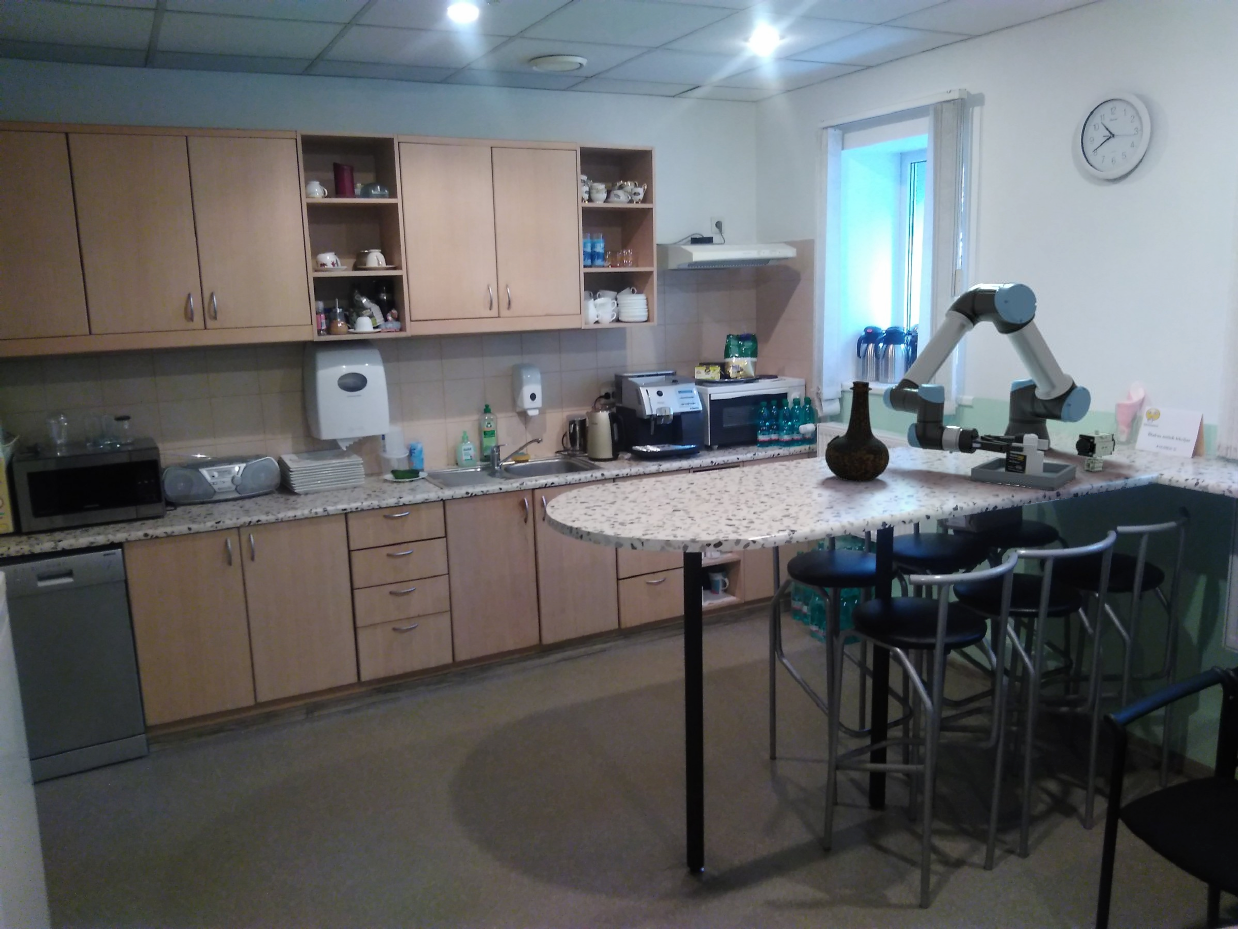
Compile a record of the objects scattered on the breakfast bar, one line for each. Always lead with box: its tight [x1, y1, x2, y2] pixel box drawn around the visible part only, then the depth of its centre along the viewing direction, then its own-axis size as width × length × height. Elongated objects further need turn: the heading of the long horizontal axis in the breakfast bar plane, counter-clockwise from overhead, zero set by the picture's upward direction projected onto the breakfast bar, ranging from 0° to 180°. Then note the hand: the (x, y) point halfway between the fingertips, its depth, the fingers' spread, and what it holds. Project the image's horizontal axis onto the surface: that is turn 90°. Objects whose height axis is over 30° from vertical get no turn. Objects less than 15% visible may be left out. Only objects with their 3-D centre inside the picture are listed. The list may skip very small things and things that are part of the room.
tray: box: [970, 456, 1077, 492], centre depth 258 cm, size 22×22×4 cm
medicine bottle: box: [1005, 433, 1045, 476], centre depth 257 cm, size 7×7×12 cm
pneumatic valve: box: [1075, 429, 1116, 473], centre depth 267 cm, size 6×12×12 cm, turn 117°
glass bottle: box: [824, 380, 890, 482], centre depth 260 cm, size 18×18×28 cm
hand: (1042, 447), depth 254 cm, fingers open, 10 cm apart
